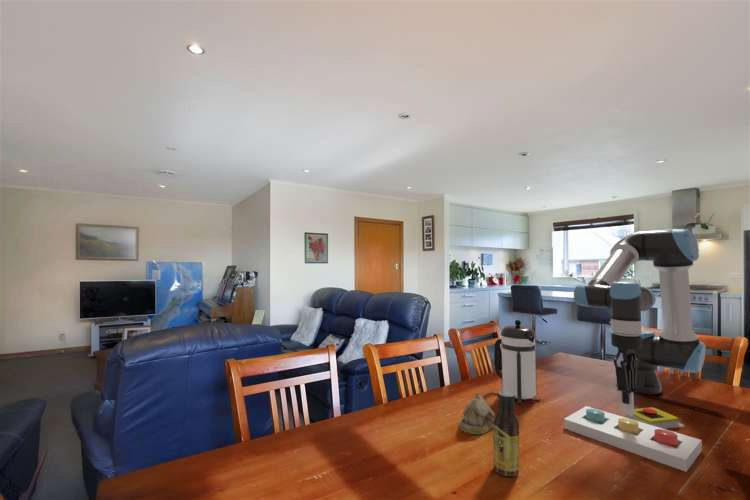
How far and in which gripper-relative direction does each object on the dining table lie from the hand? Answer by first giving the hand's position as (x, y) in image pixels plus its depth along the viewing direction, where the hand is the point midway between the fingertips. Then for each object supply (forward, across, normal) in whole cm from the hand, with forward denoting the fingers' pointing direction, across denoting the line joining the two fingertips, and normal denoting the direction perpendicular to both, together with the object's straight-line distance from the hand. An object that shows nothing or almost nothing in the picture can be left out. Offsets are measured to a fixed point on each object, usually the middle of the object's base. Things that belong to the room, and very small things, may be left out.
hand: (627, 413), depth 108 cm
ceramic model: (+8, +27, -33) cm, 44 cm away
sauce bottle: (+8, +43, -13) cm, 45 cm away
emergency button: (+8, -19, +1) cm, 21 cm away
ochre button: (+6, 0, 0) cm, 6 cm away
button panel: (+8, 0, 0) cm, 8 cm away
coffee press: (+8, -4, -39) cm, 40 cm away
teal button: (+6, 0, -9) cm, 11 cm away
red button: (+6, 0, +9) cm, 11 cm away
